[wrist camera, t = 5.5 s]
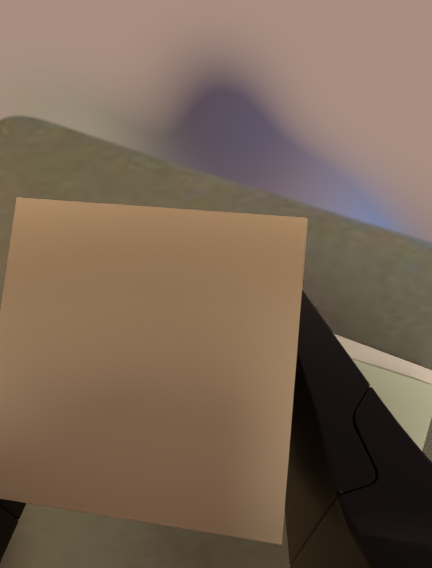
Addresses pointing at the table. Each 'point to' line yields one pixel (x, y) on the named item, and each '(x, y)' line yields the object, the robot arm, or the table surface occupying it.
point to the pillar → (151, 363)
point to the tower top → (402, 398)
